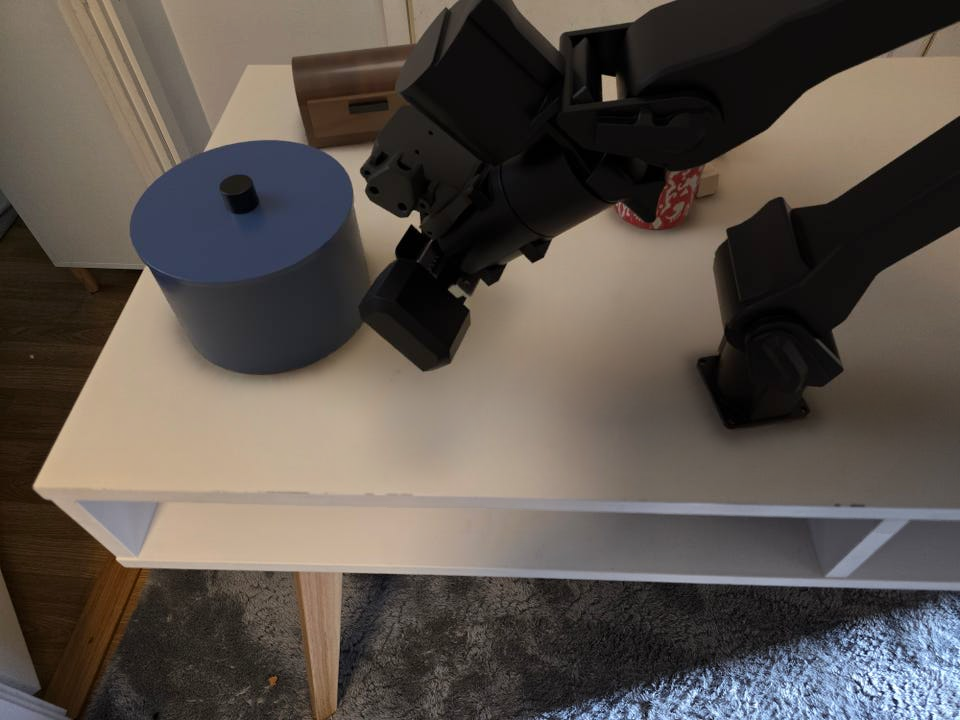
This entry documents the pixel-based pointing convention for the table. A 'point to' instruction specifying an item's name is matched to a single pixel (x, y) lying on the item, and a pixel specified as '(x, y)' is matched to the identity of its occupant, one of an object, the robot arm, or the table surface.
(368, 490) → the table surface
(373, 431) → the table surface
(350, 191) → the pot
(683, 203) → the mug
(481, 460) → the table surface
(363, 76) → the bread bin
